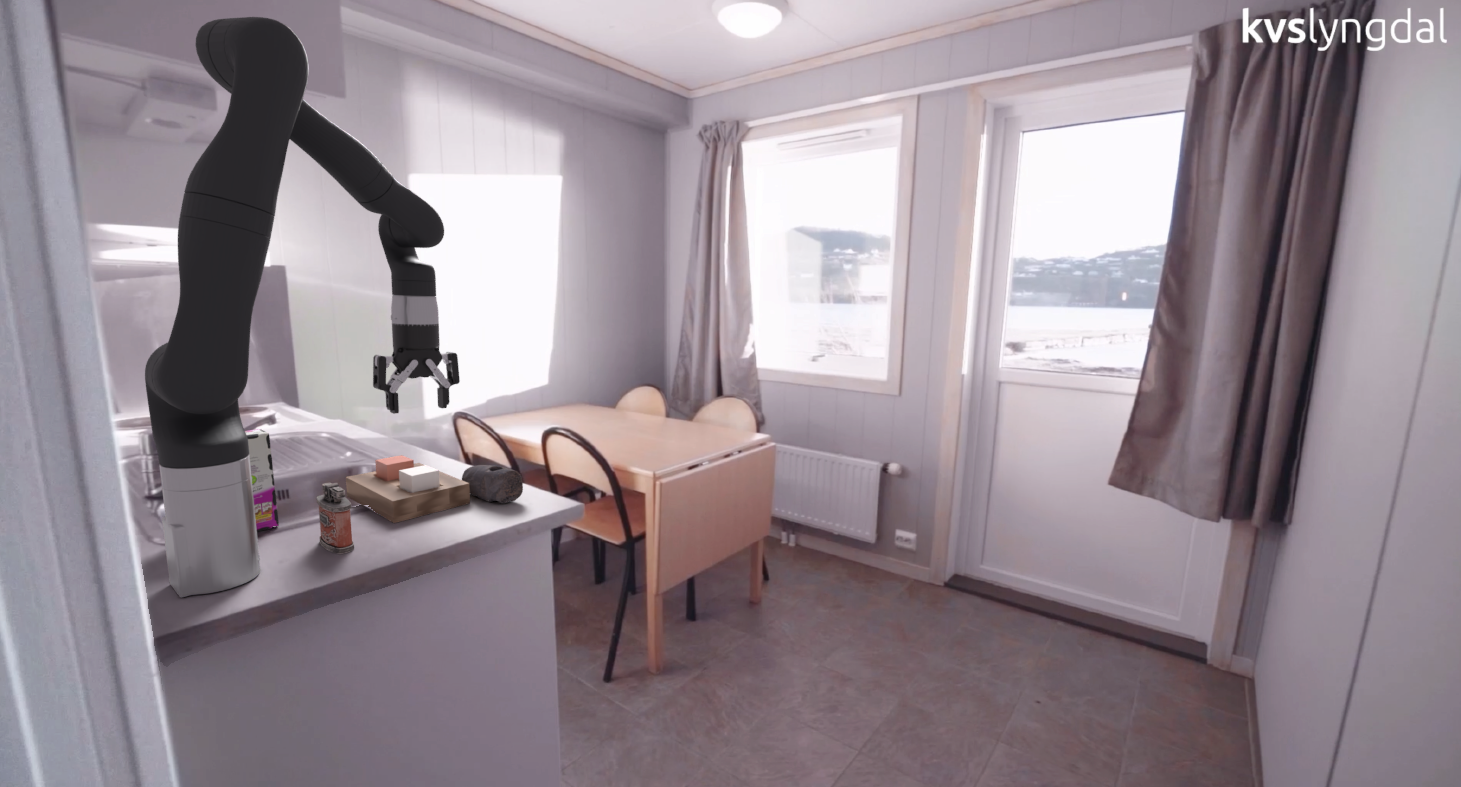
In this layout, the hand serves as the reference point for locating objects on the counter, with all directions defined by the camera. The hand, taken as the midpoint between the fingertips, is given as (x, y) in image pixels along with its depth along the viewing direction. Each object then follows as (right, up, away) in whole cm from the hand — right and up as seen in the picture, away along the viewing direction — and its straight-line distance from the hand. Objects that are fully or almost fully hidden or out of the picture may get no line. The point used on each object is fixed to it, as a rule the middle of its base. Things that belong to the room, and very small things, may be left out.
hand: (419, 410), depth 112 cm
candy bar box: (-24, -20, -12) cm, 34 cm away
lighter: (-5, -21, -15) cm, 27 cm away
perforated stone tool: (+9, -18, +9) cm, 22 cm away
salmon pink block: (-9, -14, +9) cm, 19 cm away
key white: (-1, -15, +2) cm, 15 cm away
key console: (-5, -18, +6) cm, 19 cm away
